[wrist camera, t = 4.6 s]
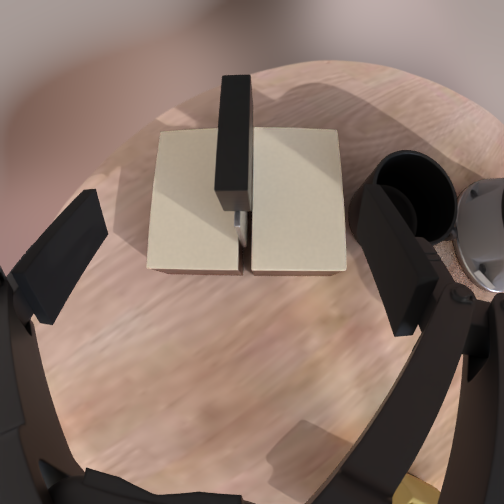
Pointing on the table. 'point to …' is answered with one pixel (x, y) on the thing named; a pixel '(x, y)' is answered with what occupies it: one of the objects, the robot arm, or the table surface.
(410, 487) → the cheese
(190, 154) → the split beige slab
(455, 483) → the robot arm
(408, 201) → the mug
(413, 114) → the table surface
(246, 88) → the dough scraper
